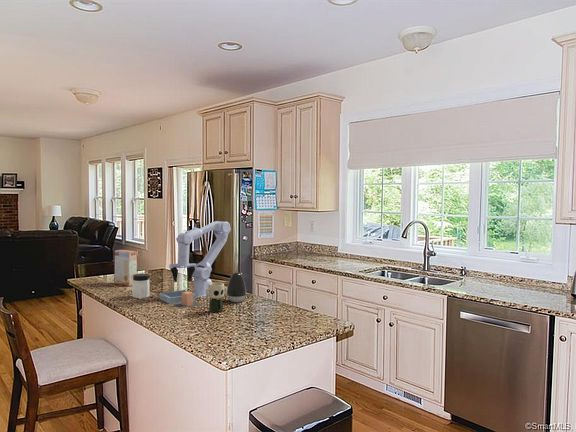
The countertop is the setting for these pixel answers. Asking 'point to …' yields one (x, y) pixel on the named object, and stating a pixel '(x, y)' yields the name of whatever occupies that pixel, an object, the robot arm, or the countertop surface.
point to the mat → (187, 306)
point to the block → (187, 298)
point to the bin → (173, 296)
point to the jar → (140, 285)
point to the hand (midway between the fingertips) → (182, 281)
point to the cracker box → (125, 266)
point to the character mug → (216, 296)
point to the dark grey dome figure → (236, 288)
